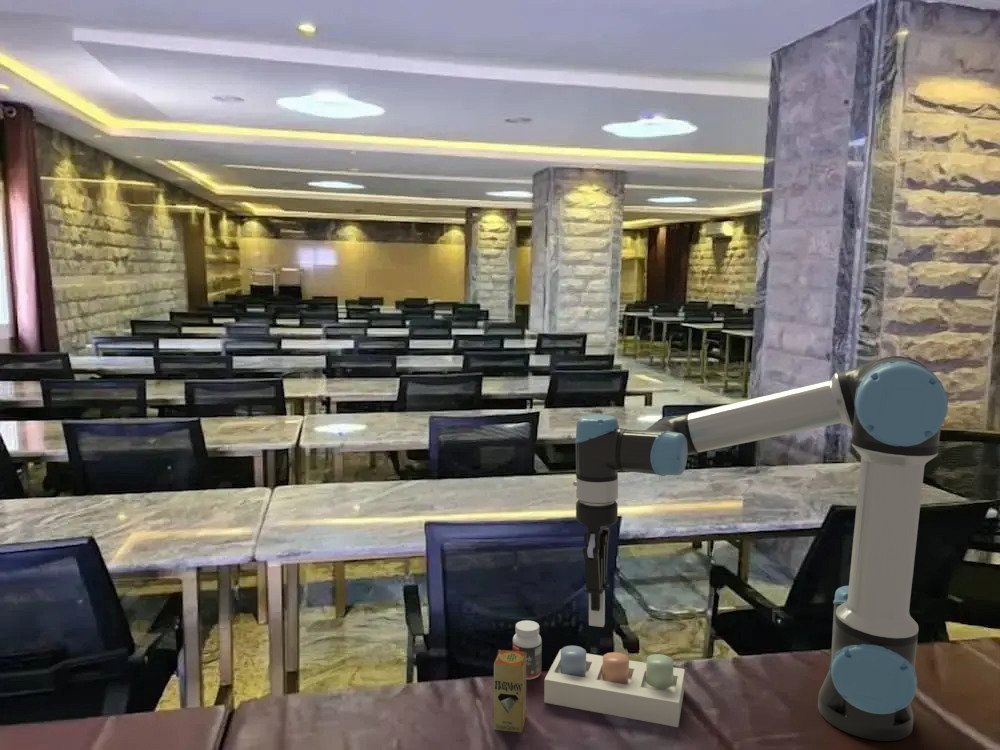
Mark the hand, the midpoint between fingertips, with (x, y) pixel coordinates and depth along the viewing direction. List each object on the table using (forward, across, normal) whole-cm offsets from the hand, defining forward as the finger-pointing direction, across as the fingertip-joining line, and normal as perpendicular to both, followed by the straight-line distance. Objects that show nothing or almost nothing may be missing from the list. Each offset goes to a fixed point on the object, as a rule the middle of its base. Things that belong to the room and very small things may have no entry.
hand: (596, 624), depth 136 cm
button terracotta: (+10, 0, +3) cm, 11 cm away
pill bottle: (+14, -3, -15) cm, 20 cm away
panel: (+14, 0, +3) cm, 14 cm away
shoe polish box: (+14, +14, -13) cm, 23 cm away
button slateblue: (+10, 0, -5) cm, 11 cm away
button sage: (+9, 0, +12) cm, 15 cm away
